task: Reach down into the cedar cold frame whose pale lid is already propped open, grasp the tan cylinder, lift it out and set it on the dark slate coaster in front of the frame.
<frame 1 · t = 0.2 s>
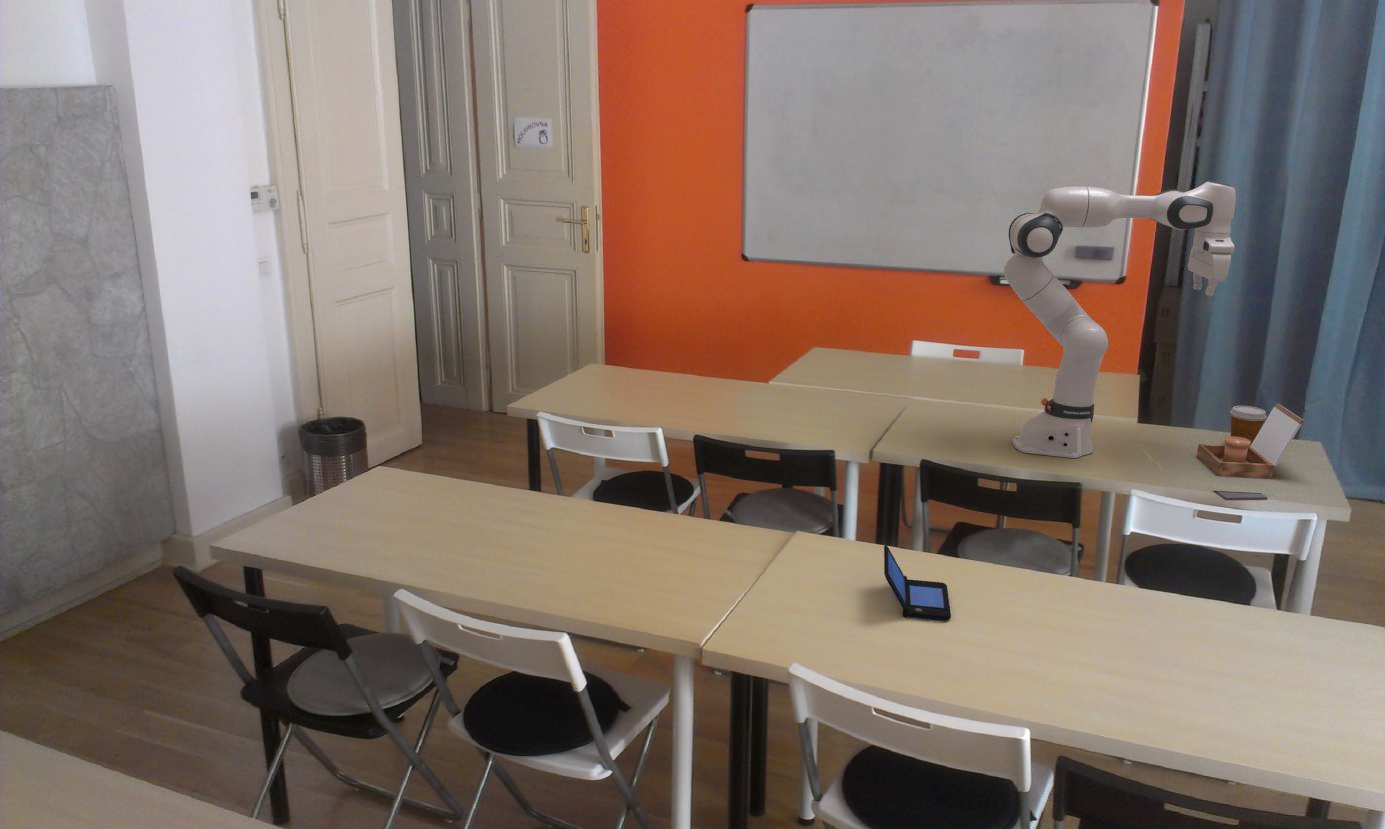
hand: (1203, 292, 285), 47 cm above the table, tool pointing down, fingers open, 8 cm apart
disposable coffee cup: (1242, 449, 304), on the table
tan cylinder: (1232, 467, 286), point 1 cm above the table, touching cold frame
handheld game console: (914, 603, 208), on the table
cold frame: (1232, 469, 286), on the table
lid: (1276, 434, 282), point 11 cm above the table, hinge at 110.0°
coaster: (1234, 491, 270), on the table
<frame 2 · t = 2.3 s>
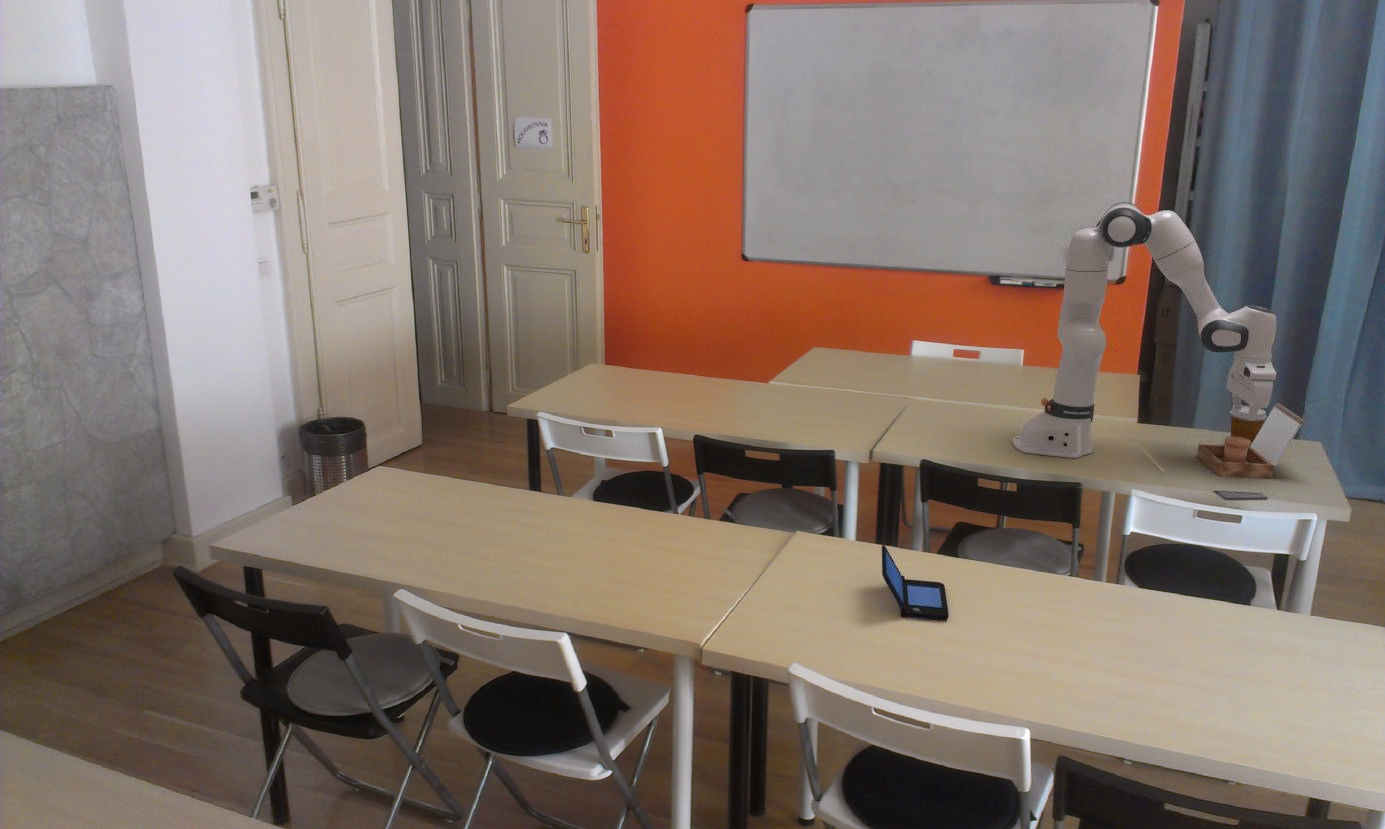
hand: (1243, 414, 281), 16 cm above the table, tool pointing down, fingers open, 8 cm apart
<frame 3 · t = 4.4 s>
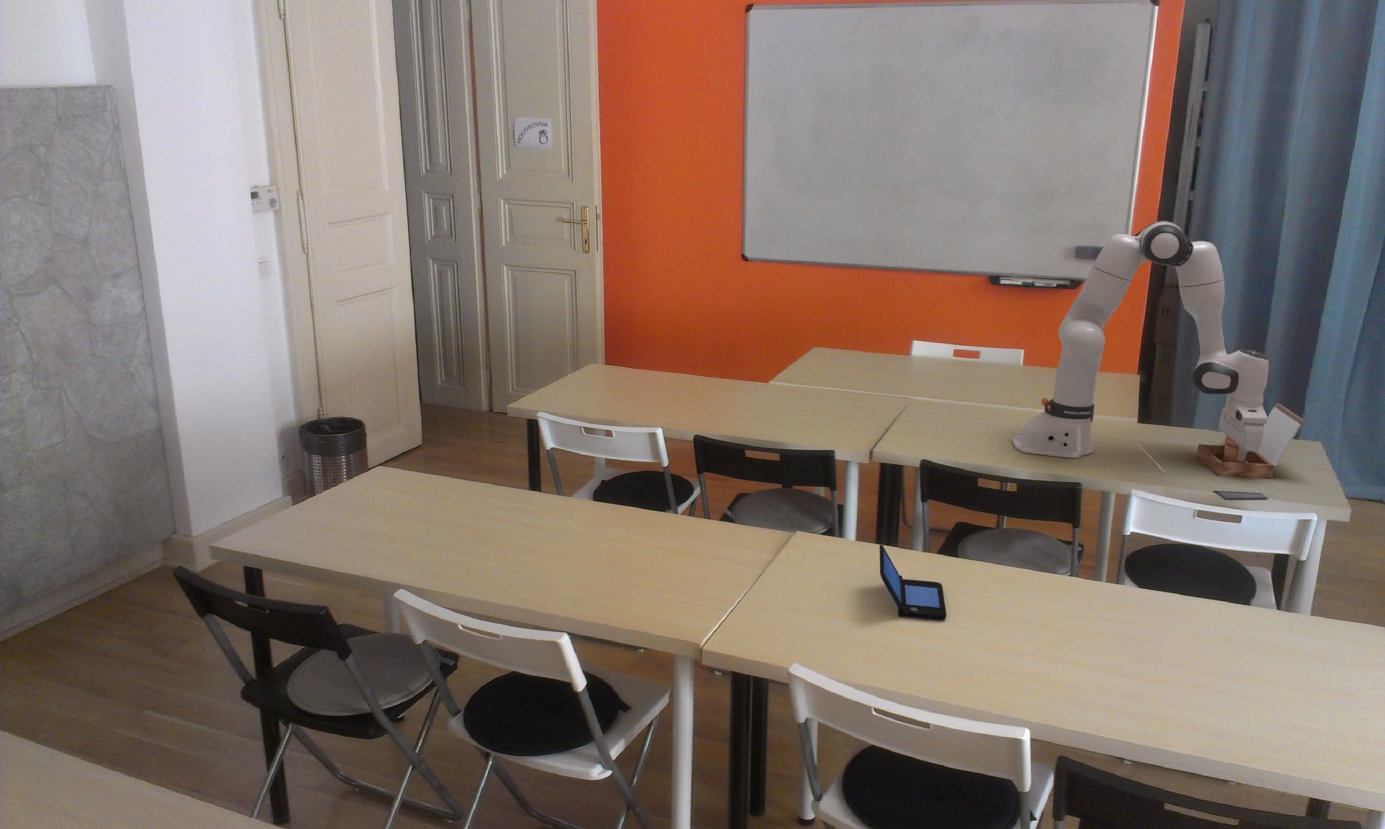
hand: (1234, 456, 285), 4 cm above the table, tool pointing down, fingers closed on tan cylinder, 6 cm apart
tan cylinder: (1232, 467, 286), point 1 cm above the table, touching cold frame, gripper
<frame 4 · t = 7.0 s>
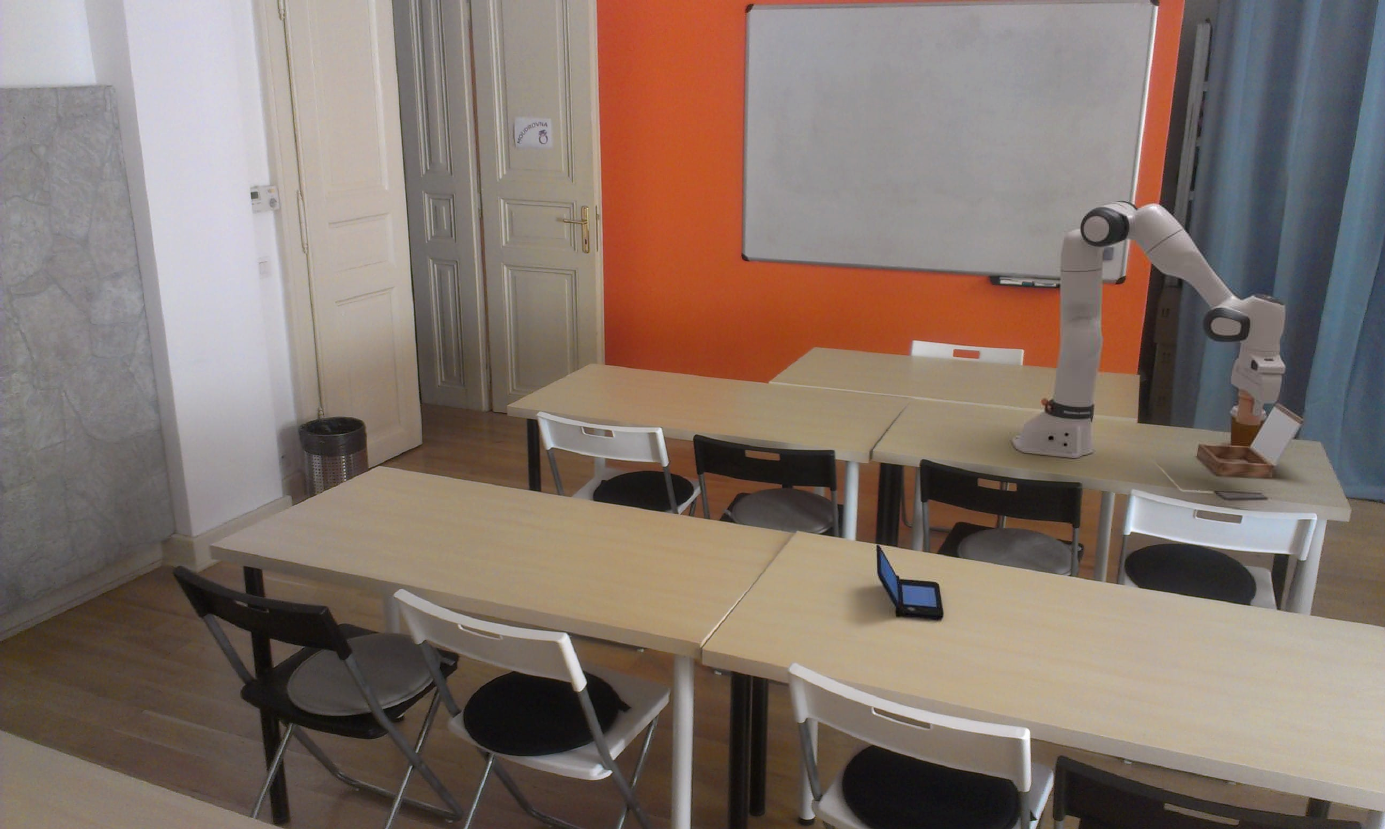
hand: (1249, 410, 266), 21 cm above the table, tool pointing down, fingers closed on tan cylinder, 6 cm apart
tan cylinder: (1247, 422, 267), point 18 cm above the table, touching gripper
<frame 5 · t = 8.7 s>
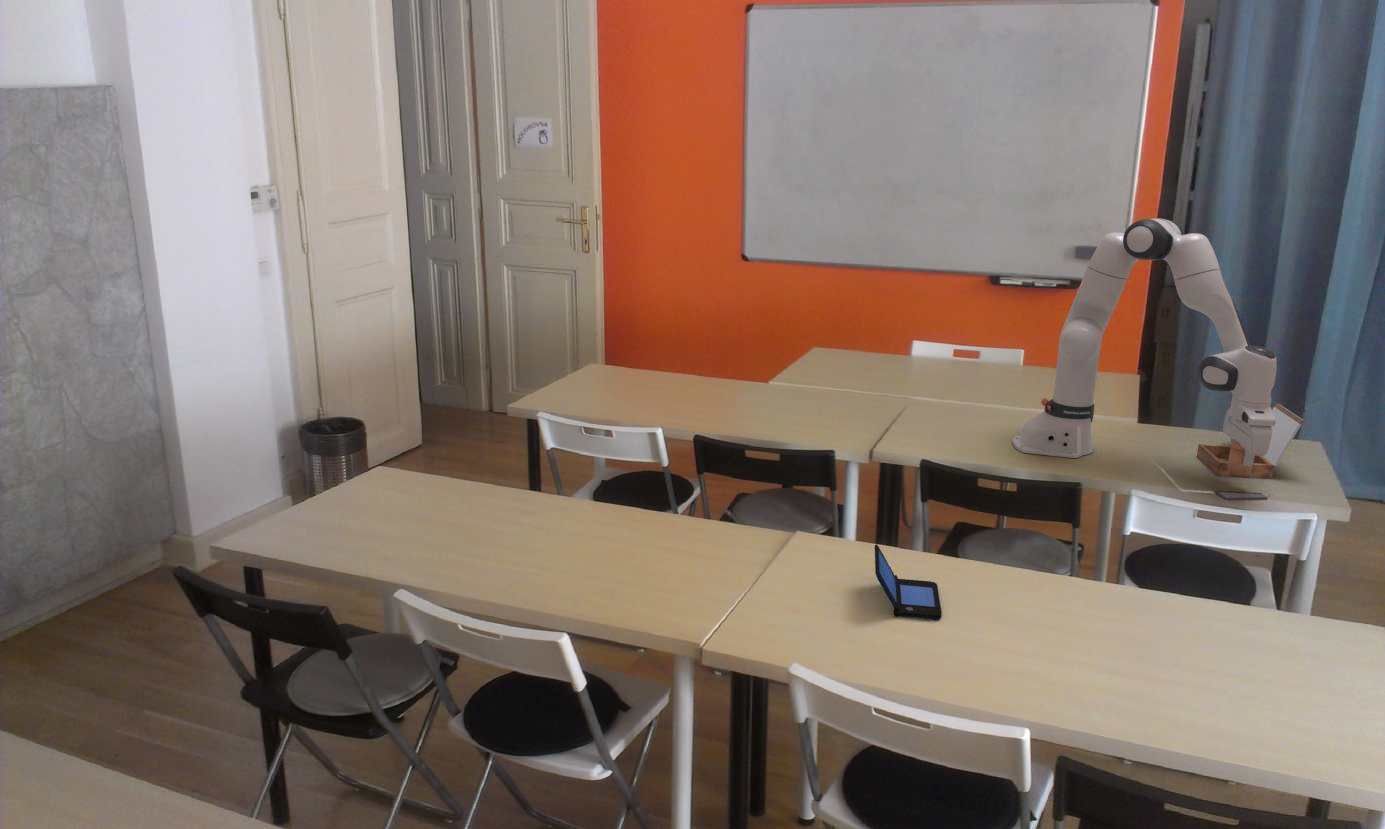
hand: (1240, 460, 267), 9 cm above the table, tool pointing down, fingers closed on tan cylinder, 6 cm apart
tan cylinder: (1239, 471, 268), point 6 cm above the table, touching gripper
when the fingers open (5 cm above the table, at t = 9.8 s): tan cylinder drops 1 cm, resting on coaster.
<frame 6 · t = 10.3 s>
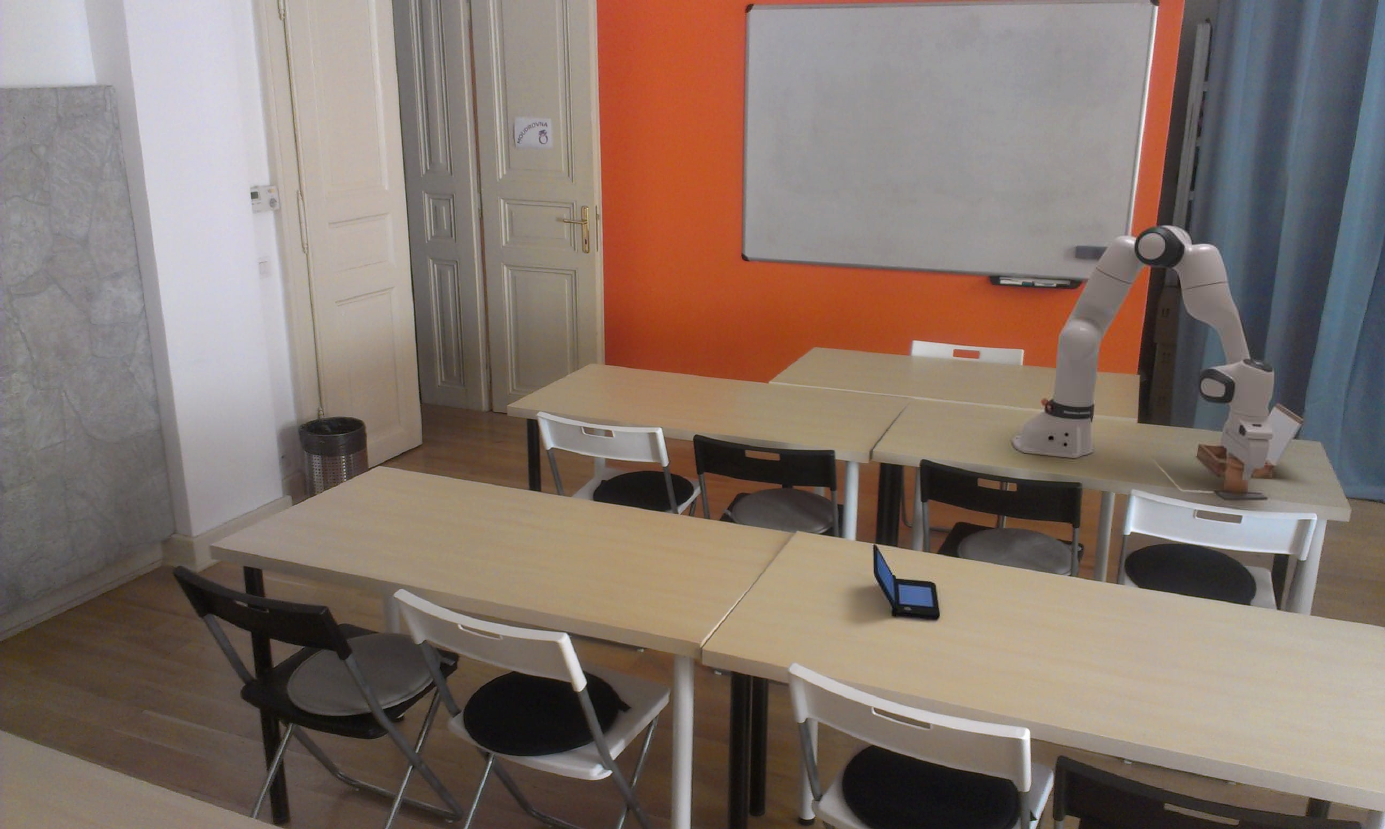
hand: (1237, 473, 268), 5 cm above the table, tool pointing down, fingers open, 8 cm apart
tan cylinder: (1235, 489, 269), point 1 cm above the table, touching coaster
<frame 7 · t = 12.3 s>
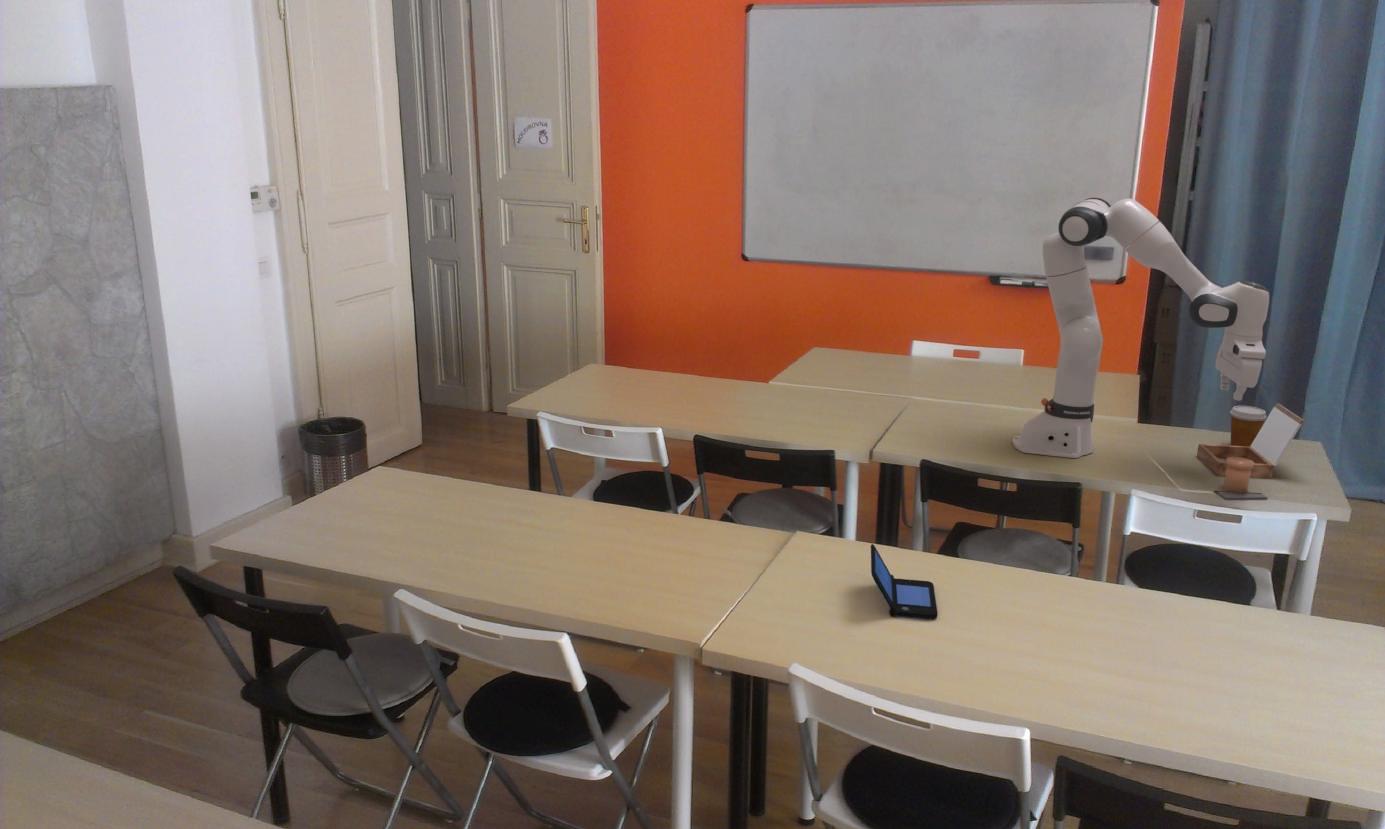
hand: (1230, 394, 272), 24 cm above the table, tool pointing down, fingers open, 8 cm apart
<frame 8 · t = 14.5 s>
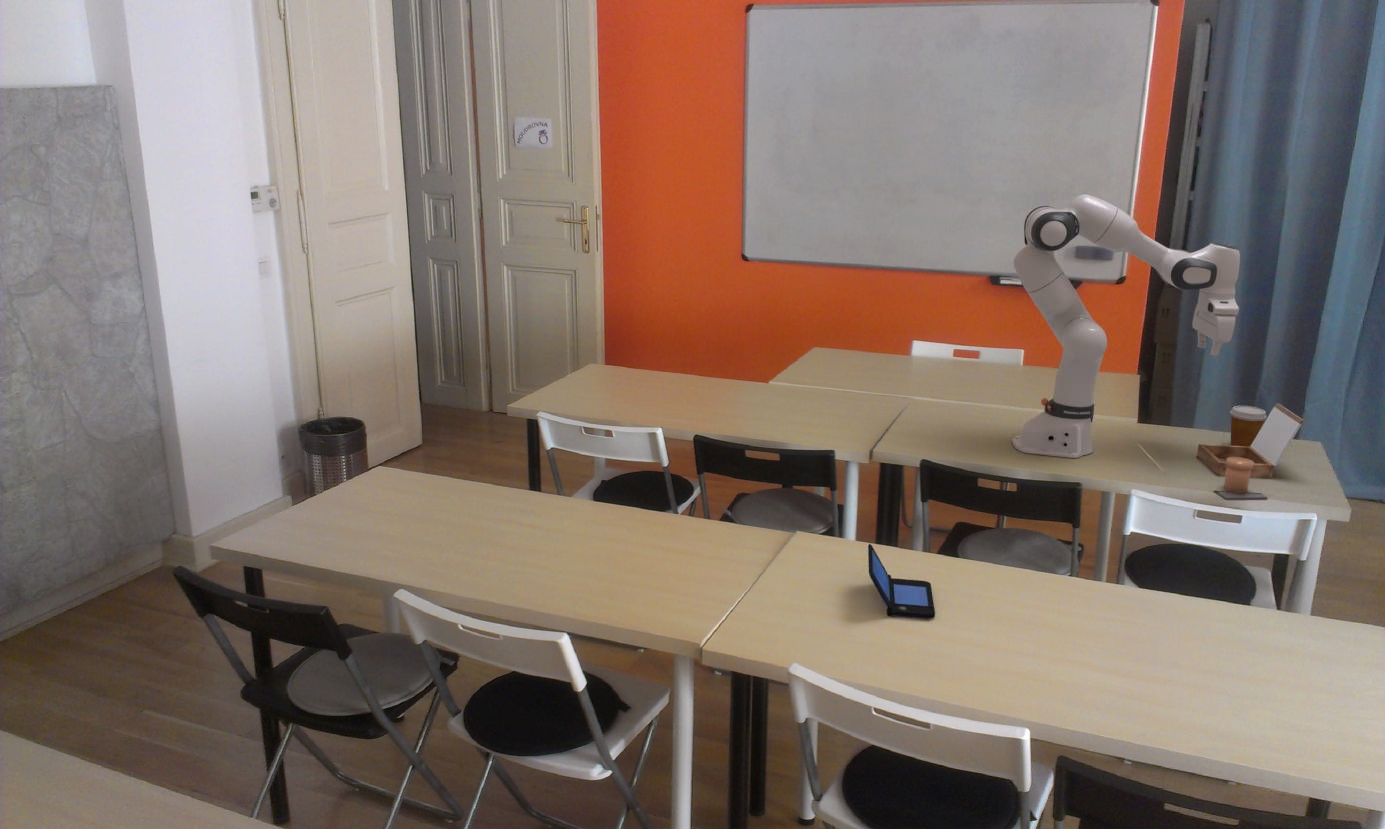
hand: (1207, 351, 287), 31 cm above the table, tool pointing down, fingers open, 8 cm apart
at the end: tan cylinder inside the target area on the coaster (0.1 cm from its centre), point 0.6 cm above the coaster's base; tan cylinder tilted 0°; the gripper is holding nothing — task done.
